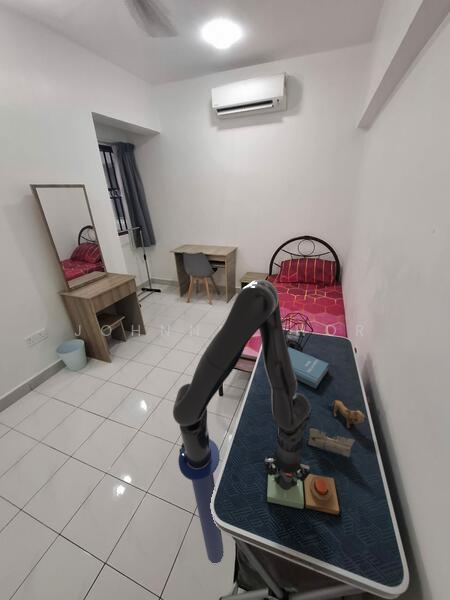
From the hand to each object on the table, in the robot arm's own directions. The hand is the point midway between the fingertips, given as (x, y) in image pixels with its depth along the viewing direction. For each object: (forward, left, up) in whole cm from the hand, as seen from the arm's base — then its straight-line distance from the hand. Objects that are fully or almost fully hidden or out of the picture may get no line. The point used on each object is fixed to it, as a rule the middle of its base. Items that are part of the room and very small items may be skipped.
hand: (285, 481), depth 78 cm
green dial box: (0, 0, -3) cm, 3 cm away
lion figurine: (+25, +30, -4) cm, 39 cm away
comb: (+16, +15, -4) cm, 22 cm away
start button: (+11, 0, 0) cm, 11 cm away
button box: (+11, 0, -3) cm, 11 cm away
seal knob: (0, 0, 0) cm, 0 cm away
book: (+9, +57, -4) cm, 58 cm away
